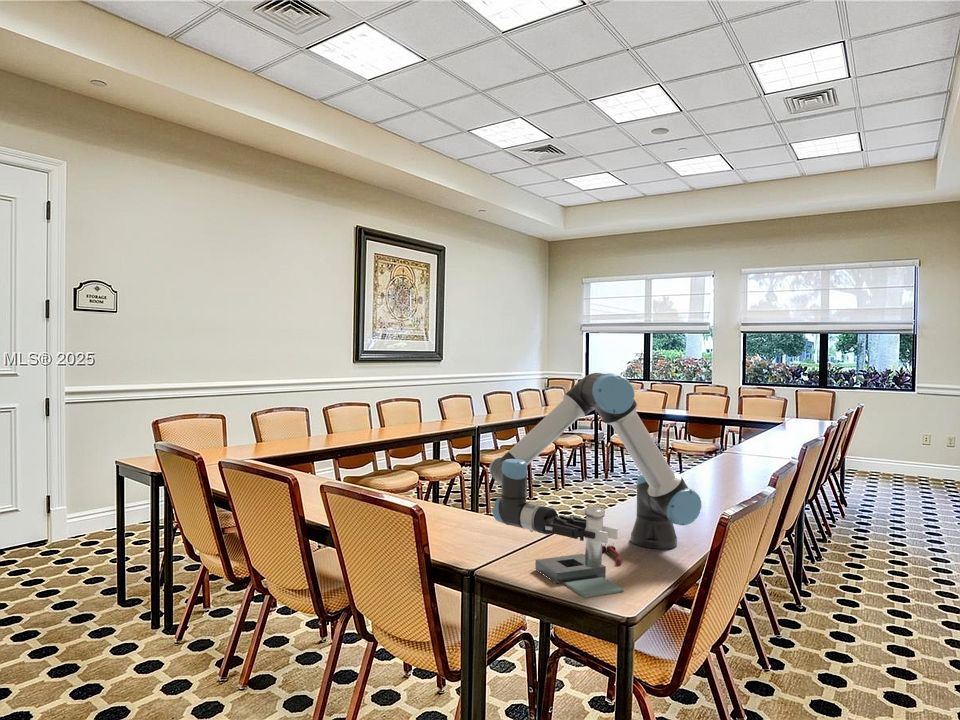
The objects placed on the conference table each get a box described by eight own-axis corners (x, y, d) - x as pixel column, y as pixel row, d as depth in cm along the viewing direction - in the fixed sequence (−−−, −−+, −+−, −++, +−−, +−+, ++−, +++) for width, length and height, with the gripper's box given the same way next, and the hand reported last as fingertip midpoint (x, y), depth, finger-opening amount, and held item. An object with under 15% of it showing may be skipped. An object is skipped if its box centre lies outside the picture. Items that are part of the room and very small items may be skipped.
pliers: (626, 548, 204) (626, 540, 204) (621, 568, 184) (621, 559, 184) (591, 544, 207) (591, 537, 207) (582, 563, 188) (582, 555, 188)
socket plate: (582, 563, 186) (582, 553, 186) (605, 576, 175) (605, 566, 175) (535, 570, 180) (535, 559, 180) (556, 584, 169) (556, 573, 169)
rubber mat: (601, 579, 173) (601, 576, 173) (623, 591, 164) (623, 589, 164) (564, 584, 168) (564, 582, 168) (585, 597, 159) (585, 595, 159)
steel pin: (595, 561, 170) (597, 506, 170) (607, 567, 165) (608, 511, 165) (579, 563, 168) (581, 507, 168) (590, 569, 163) (592, 512, 163)
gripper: (556, 526, 185) (627, 543, 169) (521, 538, 172) (594, 557, 156) (557, 501, 185) (628, 516, 169) (521, 511, 172) (595, 527, 156)
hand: (611, 535), depth 163 cm, fingers closed on steel pin, 4 cm apart
